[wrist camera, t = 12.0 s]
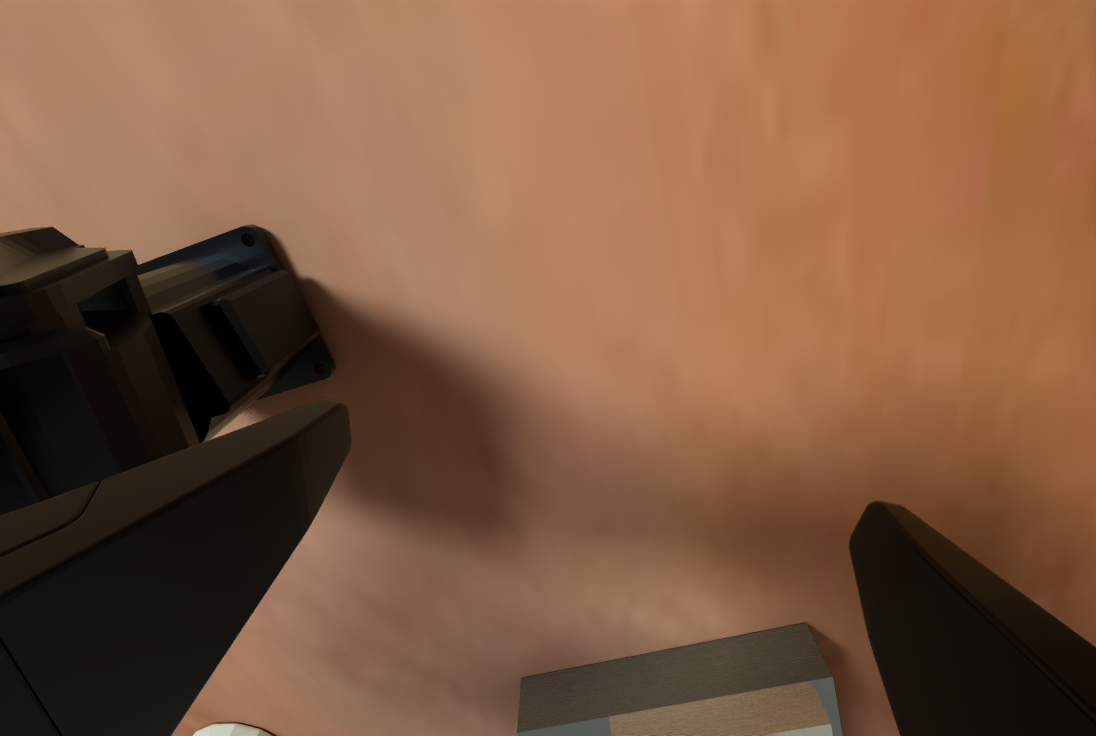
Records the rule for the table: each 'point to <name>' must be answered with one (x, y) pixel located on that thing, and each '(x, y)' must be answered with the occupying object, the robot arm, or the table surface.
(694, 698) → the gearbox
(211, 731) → the white cup
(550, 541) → the table surface
